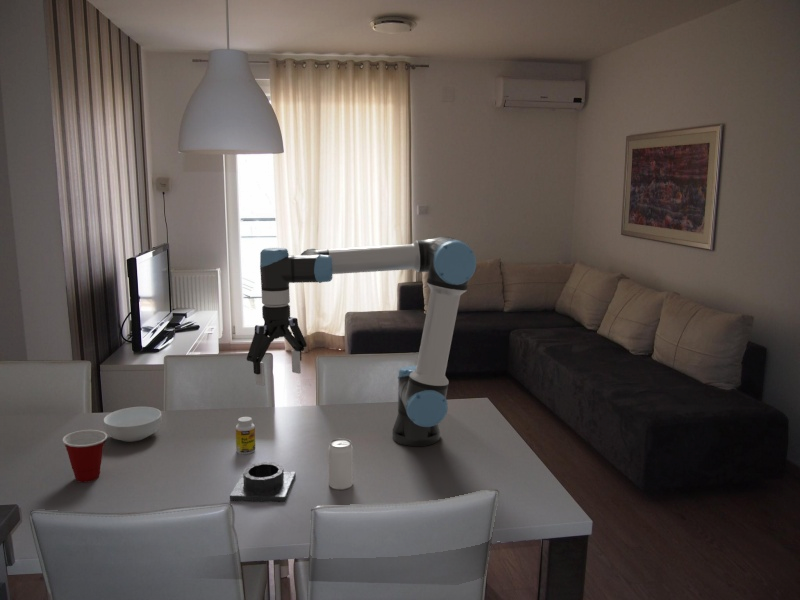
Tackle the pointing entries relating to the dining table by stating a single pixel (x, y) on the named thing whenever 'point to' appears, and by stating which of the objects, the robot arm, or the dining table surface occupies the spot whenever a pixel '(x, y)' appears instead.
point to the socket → (263, 484)
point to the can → (340, 464)
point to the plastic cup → (85, 453)
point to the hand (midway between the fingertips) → (278, 378)
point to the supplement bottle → (245, 436)
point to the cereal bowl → (132, 423)
